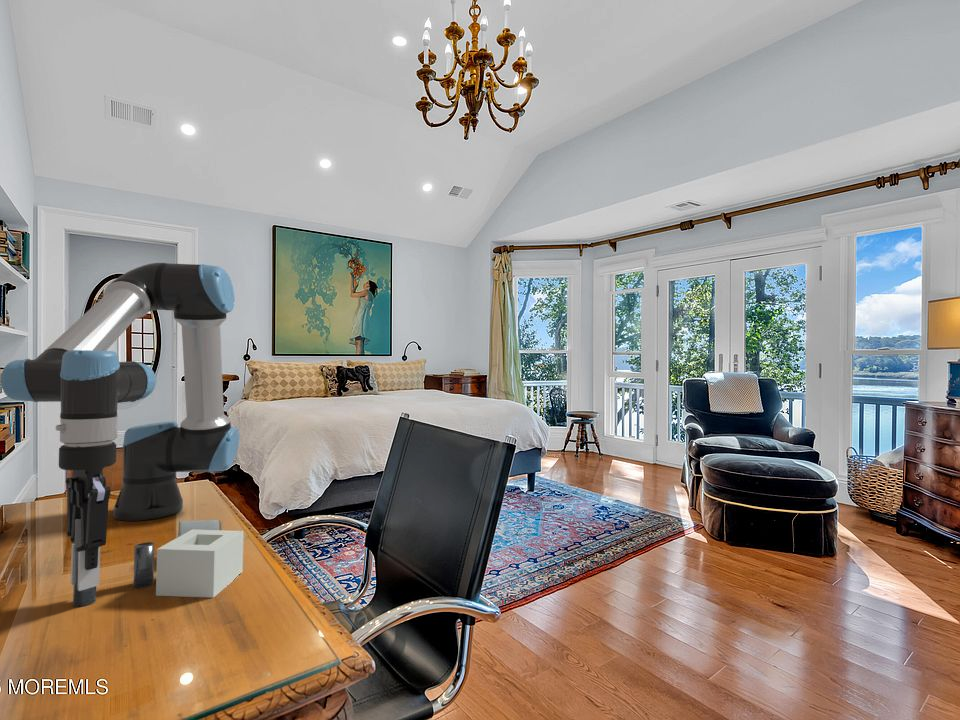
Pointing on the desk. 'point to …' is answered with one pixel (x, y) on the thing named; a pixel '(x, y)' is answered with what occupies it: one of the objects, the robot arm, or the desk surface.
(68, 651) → the desk surface
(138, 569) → the short pin
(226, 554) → the hole block
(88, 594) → the long pin
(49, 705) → the desk surface
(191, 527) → the ceramic mug
